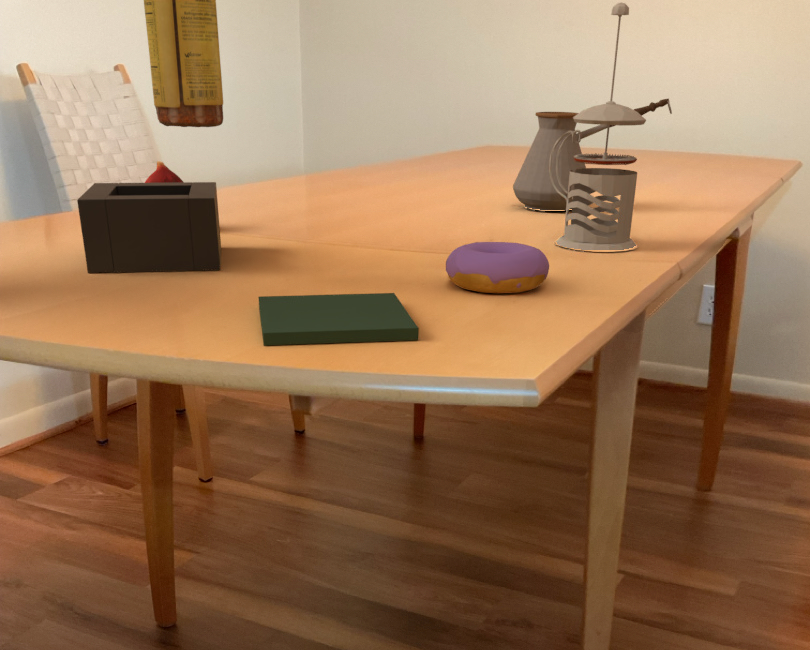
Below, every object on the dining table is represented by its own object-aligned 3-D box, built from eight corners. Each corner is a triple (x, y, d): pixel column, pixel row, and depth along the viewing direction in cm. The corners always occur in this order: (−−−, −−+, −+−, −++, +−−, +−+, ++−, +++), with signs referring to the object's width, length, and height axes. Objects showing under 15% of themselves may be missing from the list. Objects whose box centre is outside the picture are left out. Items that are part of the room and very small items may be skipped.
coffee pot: (508, 212, 131) (515, 96, 124) (514, 201, 141) (521, 93, 134) (661, 218, 128) (677, 100, 121) (655, 207, 138) (670, 97, 131)
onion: (195, 226, 118) (189, 159, 114) (189, 233, 113) (182, 164, 109) (149, 226, 117) (142, 158, 114) (141, 233, 112) (132, 163, 109)
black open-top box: (87, 273, 92) (76, 199, 89) (103, 249, 103) (94, 183, 100) (220, 270, 94) (214, 198, 91) (221, 246, 105) (216, 182, 102)
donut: (532, 270, 94) (539, 223, 91) (556, 310, 87) (564, 261, 84) (436, 271, 92) (439, 224, 89) (452, 313, 85) (456, 263, 82)
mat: (263, 345, 70) (262, 332, 69) (259, 307, 80) (258, 296, 80) (418, 340, 71) (418, 327, 71) (394, 303, 82) (394, 292, 81)
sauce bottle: (229, 126, 88) (221, -127, 78) (217, 130, 82) (205, -142, 73) (161, 122, 88) (144, -132, 78) (143, 126, 82) (123, -147, 73)
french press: (615, 256, 103) (645, -2, 91) (526, 243, 109) (543, 1, 98) (651, 244, 110) (683, 3, 98) (565, 233, 116) (586, 5, 105)
